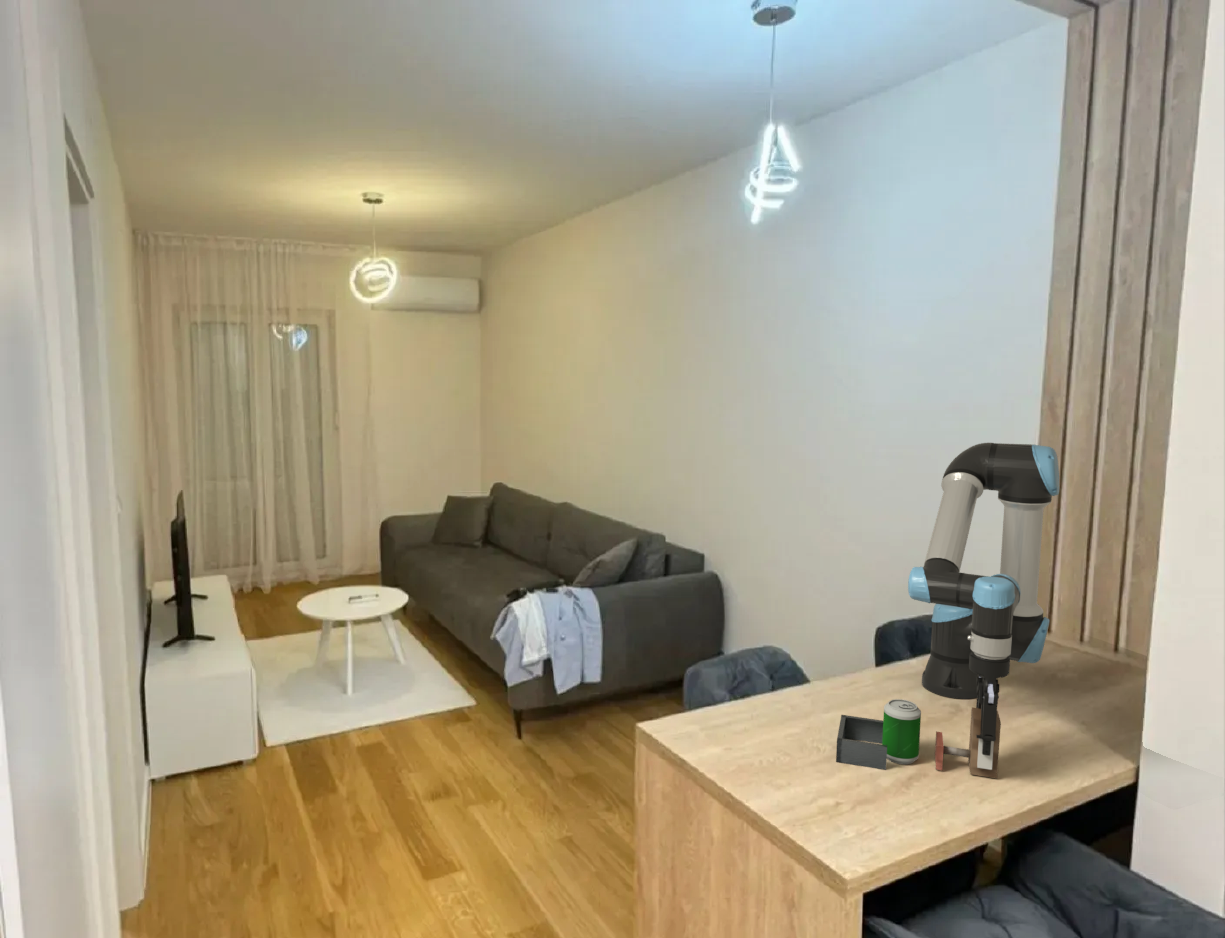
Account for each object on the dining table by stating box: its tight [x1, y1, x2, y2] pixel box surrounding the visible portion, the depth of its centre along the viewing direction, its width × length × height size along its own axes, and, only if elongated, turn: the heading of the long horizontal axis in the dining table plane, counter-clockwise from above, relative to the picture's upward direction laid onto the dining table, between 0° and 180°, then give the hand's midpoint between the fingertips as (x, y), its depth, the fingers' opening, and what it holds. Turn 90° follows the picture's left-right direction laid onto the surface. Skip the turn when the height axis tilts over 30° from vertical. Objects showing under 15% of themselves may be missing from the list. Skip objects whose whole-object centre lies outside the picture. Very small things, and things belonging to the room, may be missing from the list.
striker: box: [934, 706, 1002, 779], centre depth 169 cm, size 12×7×12 cm, turn 70°
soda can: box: [882, 698, 922, 765], centre depth 174 cm, size 8×8×12 cm
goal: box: [835, 714, 888, 771], centre depth 177 cm, size 10×13×5 cm
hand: (982, 760), depth 169 cm, fingers closed on striker, 6 cm apart
